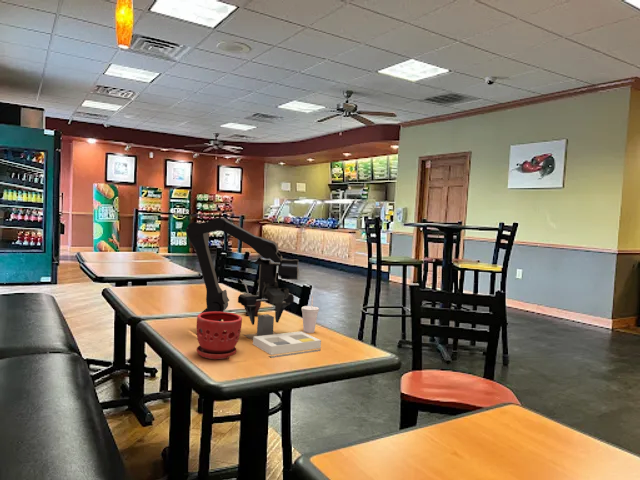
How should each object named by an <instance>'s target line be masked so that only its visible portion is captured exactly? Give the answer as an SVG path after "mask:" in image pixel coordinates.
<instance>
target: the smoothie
mask: <svg viewBox="0 0 640 480" xmlns="http://www.w3.org/2000/svg"><path fill="white" fill-rule="evenodd" d="M313 305H314V295H311V303H310V305H304V306H302V307H301V313H302V326H303V327H302V328H303V330H302V332H304V333H306V334H313V333H315V330H316V325H317V319H318V314H319V311H320V308H319V307H318V306H313Z"/></svg>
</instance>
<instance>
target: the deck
mask: <svg viewBox="0 0 640 480" xmlns="http://www.w3.org/2000/svg"><path fill="white" fill-rule="evenodd" d="M273 334H279V333H278V332H276V331H273ZM243 336H244V337H246V338H247V339H250V341H253V337H254V336H257V332H256V333H249V334H248V333H247V334H243Z"/></svg>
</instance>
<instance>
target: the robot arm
mask: <svg viewBox="0 0 640 480" xmlns="http://www.w3.org/2000/svg"><path fill="white" fill-rule="evenodd" d="M219 230H220V231H222V232H224V233H225V234H227V235H229V236H231V237H233V238H235V239H237V240H239V241H240V242H242V243H244V244H246V245H247V246H250V248H251V249H253V250H254V251H255V252H256V253H257V254H258V255H260V256H259V257H258V258H257V259H256V260H255V261H254V262H253V264H254V265H259V276H258V279H257V280H256V282H257V283H256V284H258V291H256V295H257V296H254V294H252V293H249V294H247V293H242V294H241V293H240V294H239V295H238V297H237V303H239V304H241V306H243V307H244V306H245V308H246V310H247V312H248V315H249V316H248V317H249V321H250V323H251V325H252V326H254V325H255V323H256V322H255V321H256V318H255V317H256V316H255V309H256V307H257V306H256V305H254V304H255V303H256V302H260V301H261V302H268V303H270V304H271V305H274V308H275V309H274V312H275V313H274V315H275V316H274V319H275V323H279V321H280V319H281V316H282V314H283V312H284V310H285V309H286V307H287V306H290V305H291V303H294V302H295V297H294V294H293V293H290V289H289V288H288V287H282V288H279V281H277V277H280V280H294V281H295V280H296V281H298V280H299V273H300V272H299V271H300V269H299V259H284V258H283V256H282V254H281V253H280V252H279V248H280V247H279V246H278V245H279V244H278V243H277V242H275V240H274V241H273V240H271V239H268V238H265V237H262V236H258V235H255V234H254V233H252V232H251V231H248V230H247V229H245V228H242V227H241V226H239V225H237V224H236V223H233V222H232V221H229V220H228V219H227V218H226V217H223V216H222V217H217V218H215V219H212V220H211V219H210V220H208V221H203V222H201V221H195V222H193V221H192V222H190V223H189V224H188V225H187V226H186V228H185V233H186V236H187V238H188V241H189V242H190V244H191V245H192V247H193V248H194V250H195V253H196V257H197V260H198V264H199V267H200V271H201V275H202V278H203V282H204V285H205V289H206V297H205V301H206V308H204V310H202V312H200V313H204V312H226V310H227V309H228V307H229V302H230V299H229V297H228V291H227V289H224V290H222V288H221V286H220V284H219V280H218V278H217V273H216V270H215V266H214V262H213V259H212V253H211V251H210V248H209V242H210V240H209V239H210V237H209V236H210V235H209V234H211V233H214V232H217V231H219ZM263 258H264V259H263ZM245 308H244V309H245ZM246 310H245V311H246ZM213 321H215V320H213ZM218 321H223V320H222V319H220V320H218ZM200 331H201V333H202V332H203V331H202V329H201V330H200Z"/></svg>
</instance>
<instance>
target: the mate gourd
mask: <svg viewBox="0 0 640 480" xmlns="http://www.w3.org/2000/svg"><path fill="white" fill-rule="evenodd" d="M239 281H241V283H242V284H243V285H244V288H245V290H246V294H250V293H249V290H248V285H247V283H245V281H244V280H242V279H239ZM253 295H254V294H253ZM254 296H258V295H257V294H255V295H254ZM261 304H262V301H260V302H256V303H255V304H254V305H256V306H257V307H256V309H255V317H258V313H259V310H260V308H261V306H262V305H261ZM243 307H244V310H245V316H246V317H249V315H248V312H247V310H246V308H245V306H243Z"/></svg>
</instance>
